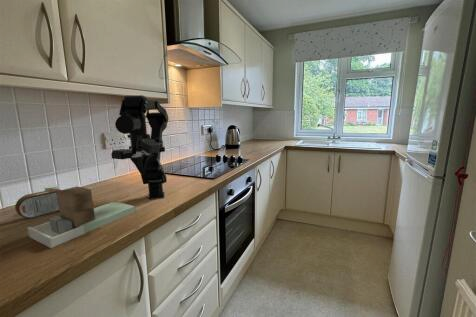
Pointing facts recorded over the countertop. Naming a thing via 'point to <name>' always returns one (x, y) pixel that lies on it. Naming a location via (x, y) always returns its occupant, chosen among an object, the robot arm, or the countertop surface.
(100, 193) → the countertop surface
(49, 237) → the cream tray
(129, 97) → the robot arm
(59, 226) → the slate tile
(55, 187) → the pill bottle
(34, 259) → the countertop surface
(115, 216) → the sage board
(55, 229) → the slate tile
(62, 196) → the walnut push block
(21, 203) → the tin
